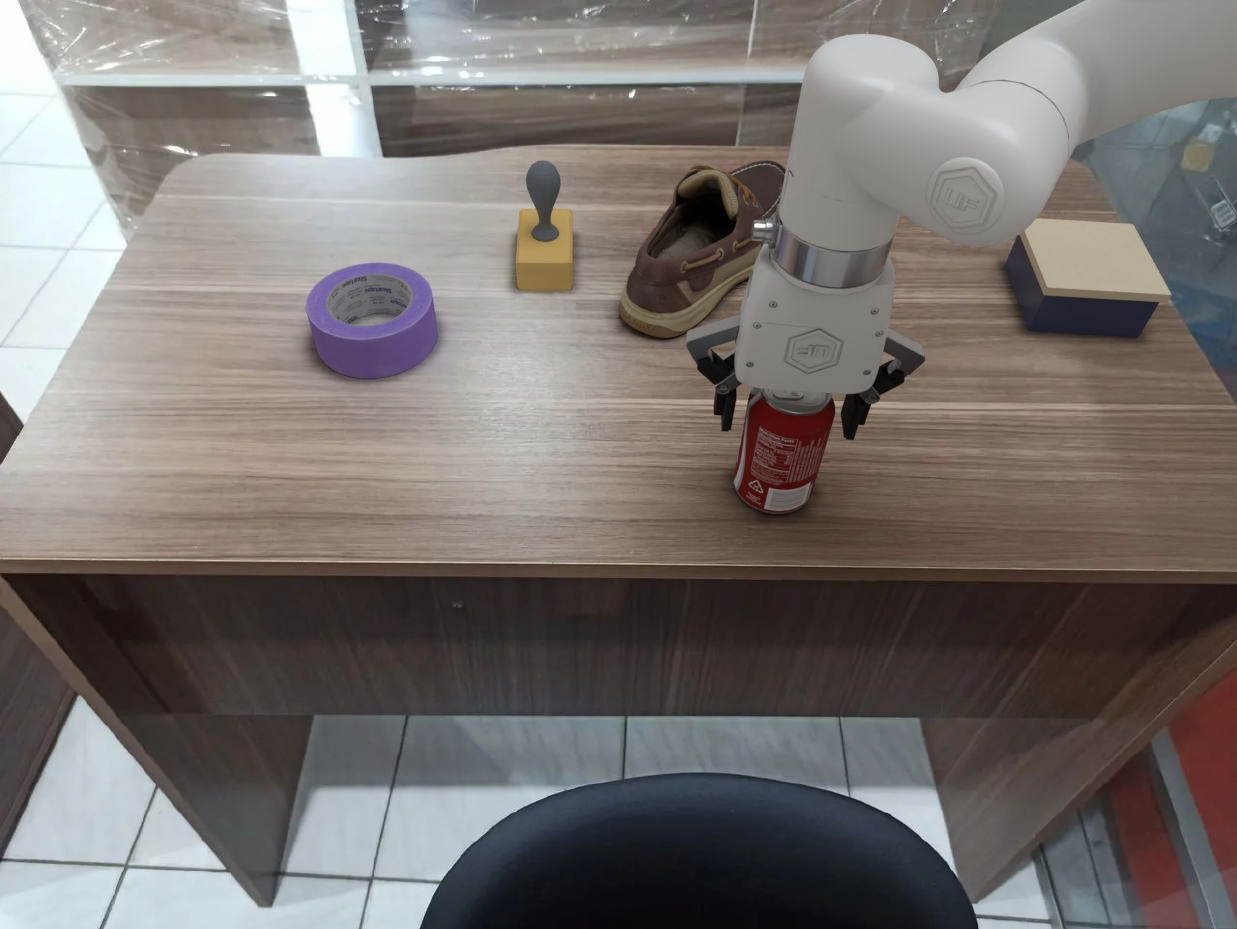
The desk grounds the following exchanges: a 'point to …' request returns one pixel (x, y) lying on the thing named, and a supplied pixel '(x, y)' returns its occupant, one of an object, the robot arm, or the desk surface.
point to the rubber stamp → (544, 234)
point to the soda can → (782, 448)
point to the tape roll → (377, 344)
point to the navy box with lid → (1084, 278)
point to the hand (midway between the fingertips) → (785, 423)
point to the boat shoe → (700, 247)
